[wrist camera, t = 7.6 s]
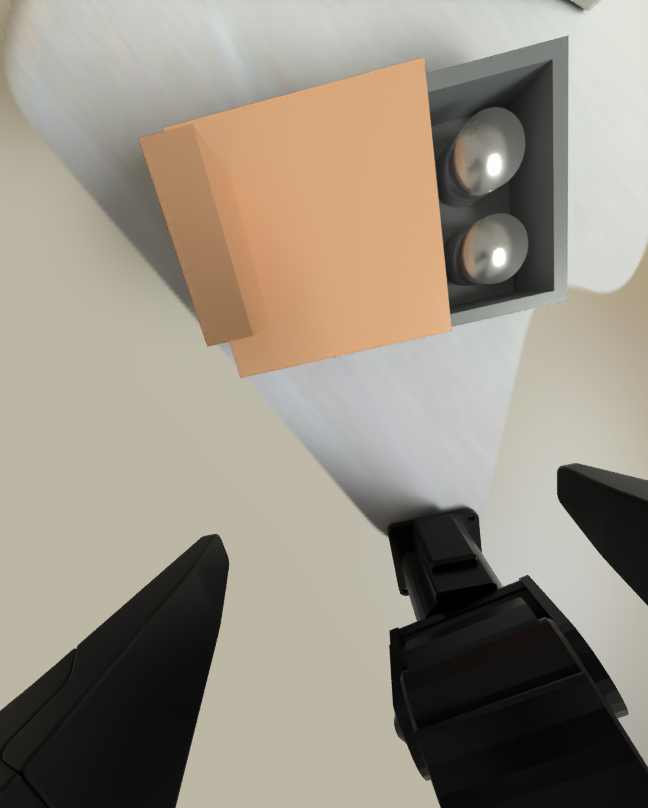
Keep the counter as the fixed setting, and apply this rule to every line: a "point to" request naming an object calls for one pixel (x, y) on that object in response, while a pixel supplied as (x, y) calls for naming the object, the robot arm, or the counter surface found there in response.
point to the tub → (533, 181)
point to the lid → (309, 219)
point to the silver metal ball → (480, 157)
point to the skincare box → (586, 3)
